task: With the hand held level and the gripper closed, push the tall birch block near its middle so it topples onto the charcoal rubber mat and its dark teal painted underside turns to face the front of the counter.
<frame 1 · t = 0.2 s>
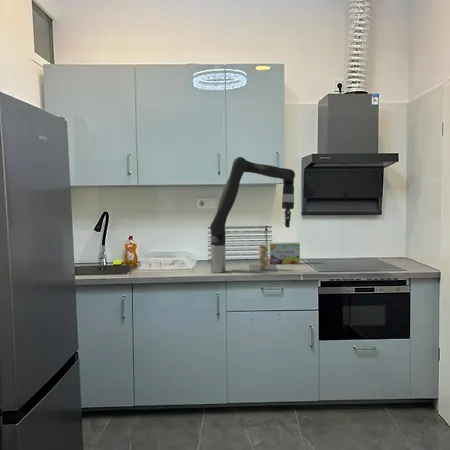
hand: (287, 226, 271), 29 cm above the countertop, tool pointing down, fingers open, 8 cm apart
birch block: (263, 269, 276), point 1 cm above the countertop, touching charcoal mat
snack box: (284, 264, 303), on the countertop
charcoal mat: (262, 268, 283), on the countertop
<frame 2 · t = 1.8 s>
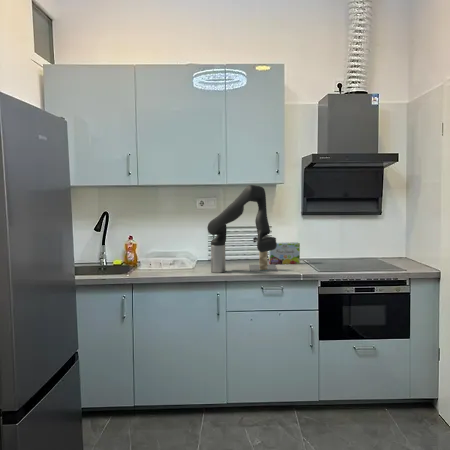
hand: (263, 238, 264), 22 cm above the countertop, tool horizontal, fingers open, 5 cm apart
nothing on the countertop moved.
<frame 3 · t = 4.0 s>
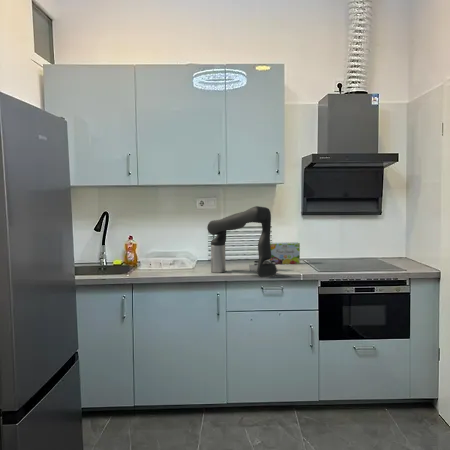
hand: (263, 260, 266), 8 cm above the countertop, tool horizontal, fingers closed
nothing on the countertop moved.
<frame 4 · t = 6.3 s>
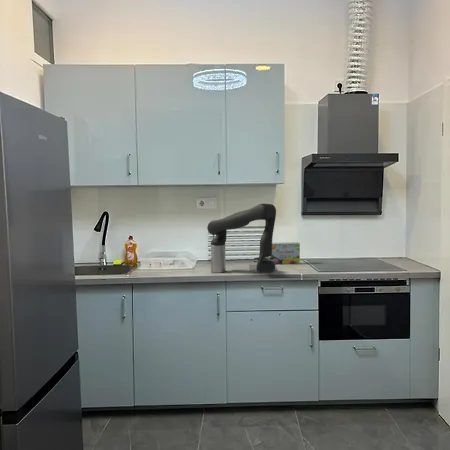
hand: (263, 258, 277), 8 cm above the countertop, tool horizontal, fingers closed
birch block: (263, 265, 279), point 3 cm above the countertop, tilted 90°, touching charcoal mat
everything else where it was.
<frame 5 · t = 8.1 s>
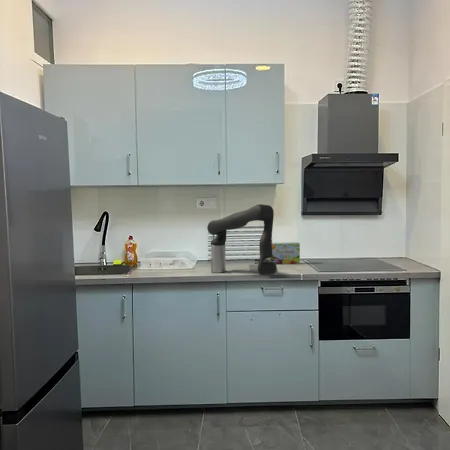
hand: (263, 259, 271), 8 cm above the countertop, tool horizontal, fingers closed
nothing on the countertop moved.
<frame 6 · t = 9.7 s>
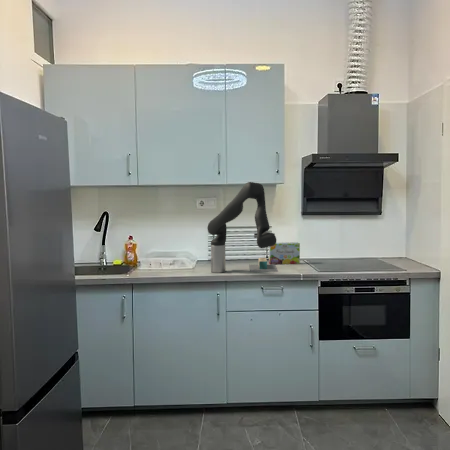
hand: (263, 234, 265), 25 cm above the countertop, tool horizontal, fingers closed
nothing on the countertop moved.
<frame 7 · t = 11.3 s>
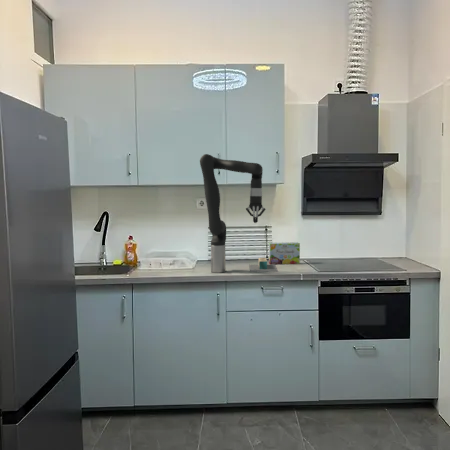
hand: (255, 222, 270), 31 cm above the countertop, tool pointing down, fingers closed
nothing on the countertop moved.
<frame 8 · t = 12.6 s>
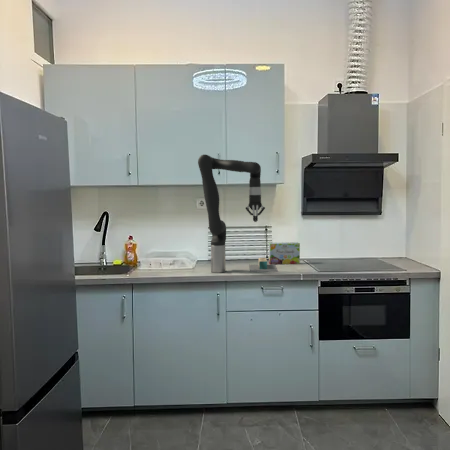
hand: (255, 221, 270), 32 cm above the countertop, tool pointing down, fingers closed
nothing on the countertop moved.
at the end: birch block tilted 90°; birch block inside the target area (2.4 cm from its centre), point 3.1 cm above the countertop; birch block touching charcoal mat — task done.
